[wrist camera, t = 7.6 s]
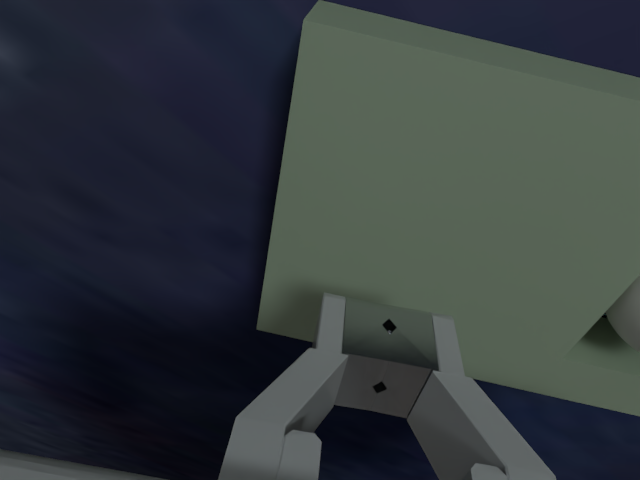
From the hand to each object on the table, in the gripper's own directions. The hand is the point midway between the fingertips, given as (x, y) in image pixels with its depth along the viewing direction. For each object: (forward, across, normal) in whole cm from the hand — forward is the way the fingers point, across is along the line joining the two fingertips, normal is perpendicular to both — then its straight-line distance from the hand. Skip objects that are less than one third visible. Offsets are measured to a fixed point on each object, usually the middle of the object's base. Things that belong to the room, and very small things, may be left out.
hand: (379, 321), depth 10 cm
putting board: (+5, -6, 0) cm, 8 cm away
